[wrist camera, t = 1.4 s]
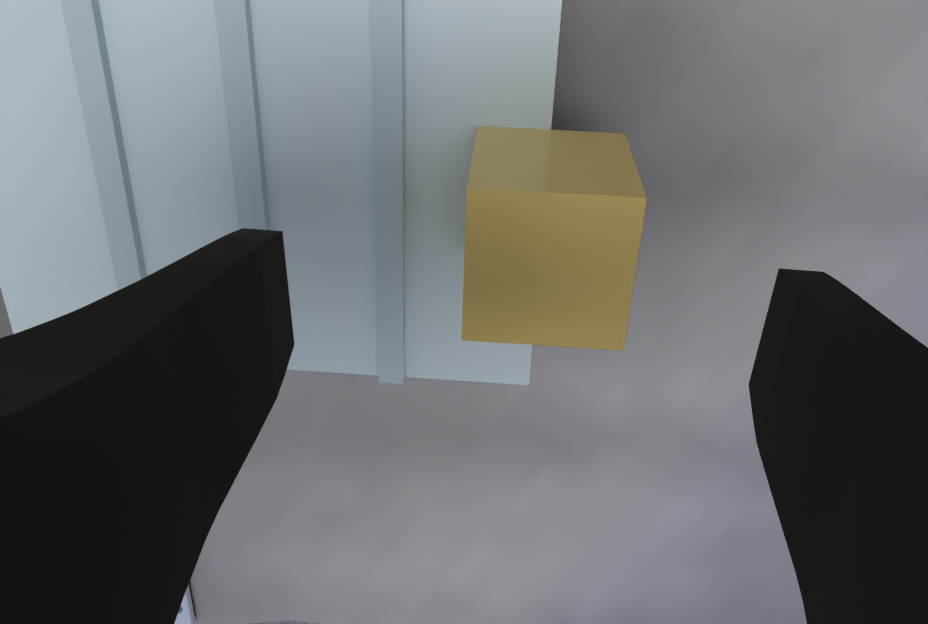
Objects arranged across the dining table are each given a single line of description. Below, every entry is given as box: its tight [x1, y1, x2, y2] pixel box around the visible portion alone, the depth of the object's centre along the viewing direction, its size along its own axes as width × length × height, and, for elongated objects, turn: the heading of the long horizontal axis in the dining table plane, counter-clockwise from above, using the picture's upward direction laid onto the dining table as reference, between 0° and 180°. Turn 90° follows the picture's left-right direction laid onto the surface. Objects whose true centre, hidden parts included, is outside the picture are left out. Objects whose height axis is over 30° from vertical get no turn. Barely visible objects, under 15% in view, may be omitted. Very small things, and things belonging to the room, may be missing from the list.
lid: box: [0, 0, 647, 385], centre depth 17 cm, size 10×14×4 cm
